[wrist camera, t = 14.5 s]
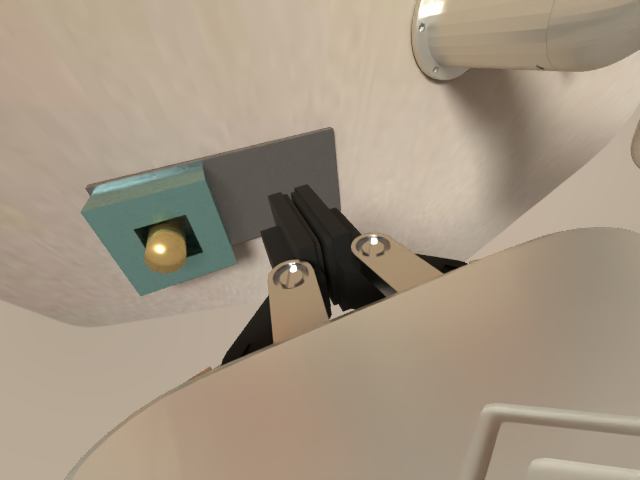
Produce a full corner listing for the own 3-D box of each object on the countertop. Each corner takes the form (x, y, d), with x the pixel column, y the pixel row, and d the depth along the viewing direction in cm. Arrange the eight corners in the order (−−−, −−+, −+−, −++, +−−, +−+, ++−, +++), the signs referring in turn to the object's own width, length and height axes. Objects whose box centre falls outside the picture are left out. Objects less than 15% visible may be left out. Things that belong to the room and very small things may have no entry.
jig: (330, 127, 37) (351, 137, 32) (337, 207, 44) (356, 225, 39) (87, 184, 30) (70, 208, 25) (143, 269, 37) (138, 301, 32)
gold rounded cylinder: (178, 204, 33) (178, 238, 27) (189, 229, 35) (191, 266, 29) (145, 212, 32) (137, 249, 26) (158, 238, 34) (154, 278, 28)
